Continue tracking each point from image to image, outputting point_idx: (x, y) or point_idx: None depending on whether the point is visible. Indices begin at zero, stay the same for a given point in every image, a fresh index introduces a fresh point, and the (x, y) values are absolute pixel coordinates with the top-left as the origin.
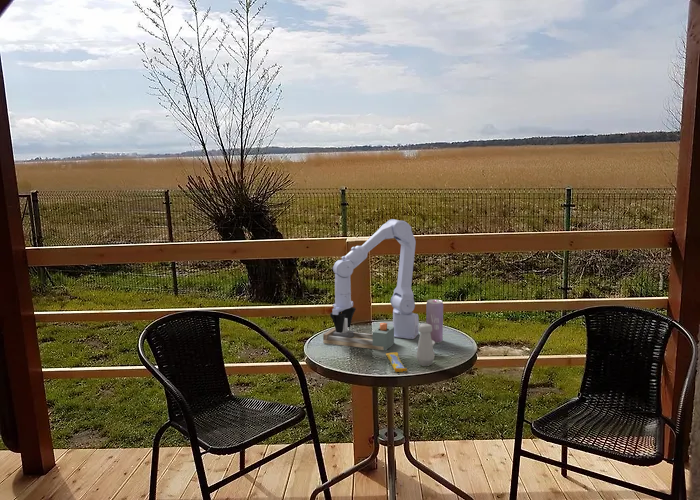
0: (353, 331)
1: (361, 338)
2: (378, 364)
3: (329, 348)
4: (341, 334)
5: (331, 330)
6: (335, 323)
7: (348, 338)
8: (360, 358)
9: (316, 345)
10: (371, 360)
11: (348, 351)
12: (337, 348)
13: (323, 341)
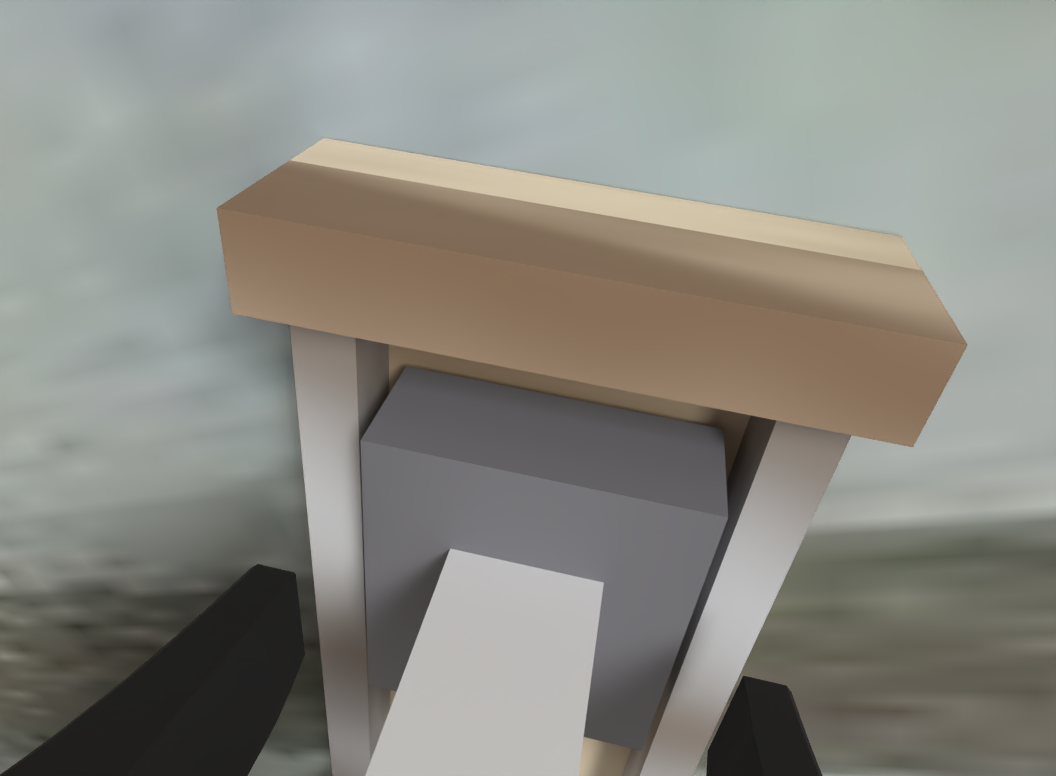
0: (636, 740)
1: None
2: (12, 764)
3: (108, 330)
4: (368, 586)
5: (664, 340)
6: (70, 766)
7: (322, 648)
8: (36, 669)
9: (111, 29)
10: (54, 733)
11: (149, 570)
12: (176, 440)
13: (307, 151)
